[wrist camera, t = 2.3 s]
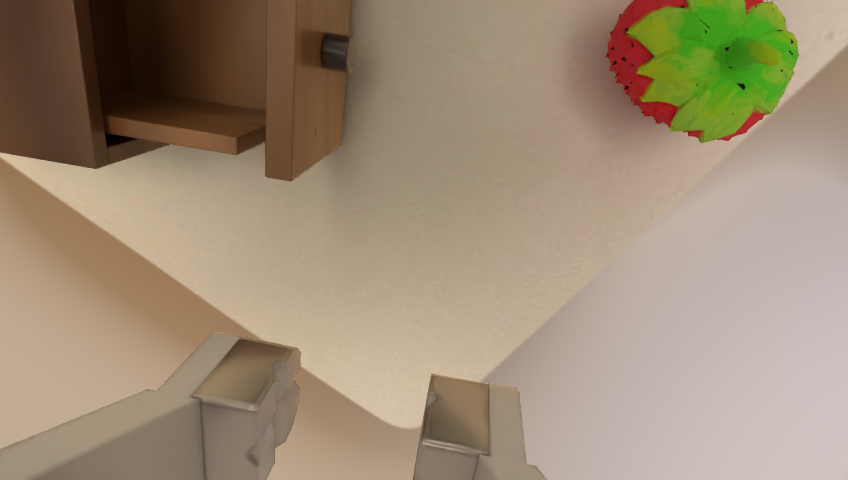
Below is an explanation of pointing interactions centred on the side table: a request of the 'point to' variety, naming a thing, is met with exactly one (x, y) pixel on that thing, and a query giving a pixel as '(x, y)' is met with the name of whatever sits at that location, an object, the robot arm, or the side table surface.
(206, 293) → the side table surface
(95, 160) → the nightstand
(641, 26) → the strawberry
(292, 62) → the wooden drawer
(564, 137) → the side table surface
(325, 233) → the side table surface
